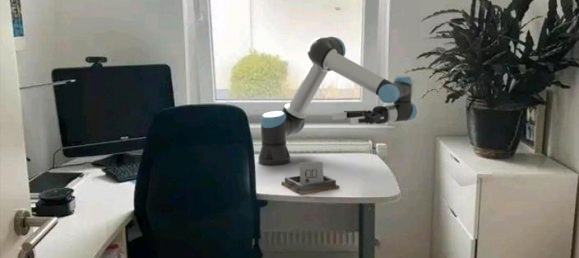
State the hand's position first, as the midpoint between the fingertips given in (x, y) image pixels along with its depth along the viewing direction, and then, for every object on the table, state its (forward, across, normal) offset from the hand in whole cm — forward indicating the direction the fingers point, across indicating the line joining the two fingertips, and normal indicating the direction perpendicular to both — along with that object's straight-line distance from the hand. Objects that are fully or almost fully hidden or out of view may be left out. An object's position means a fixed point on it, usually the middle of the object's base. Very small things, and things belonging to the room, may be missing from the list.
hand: (341, 118), depth 229 cm
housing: (+16, -2, -26) cm, 30 cm away
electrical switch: (+16, -3, -25) cm, 30 cm away
